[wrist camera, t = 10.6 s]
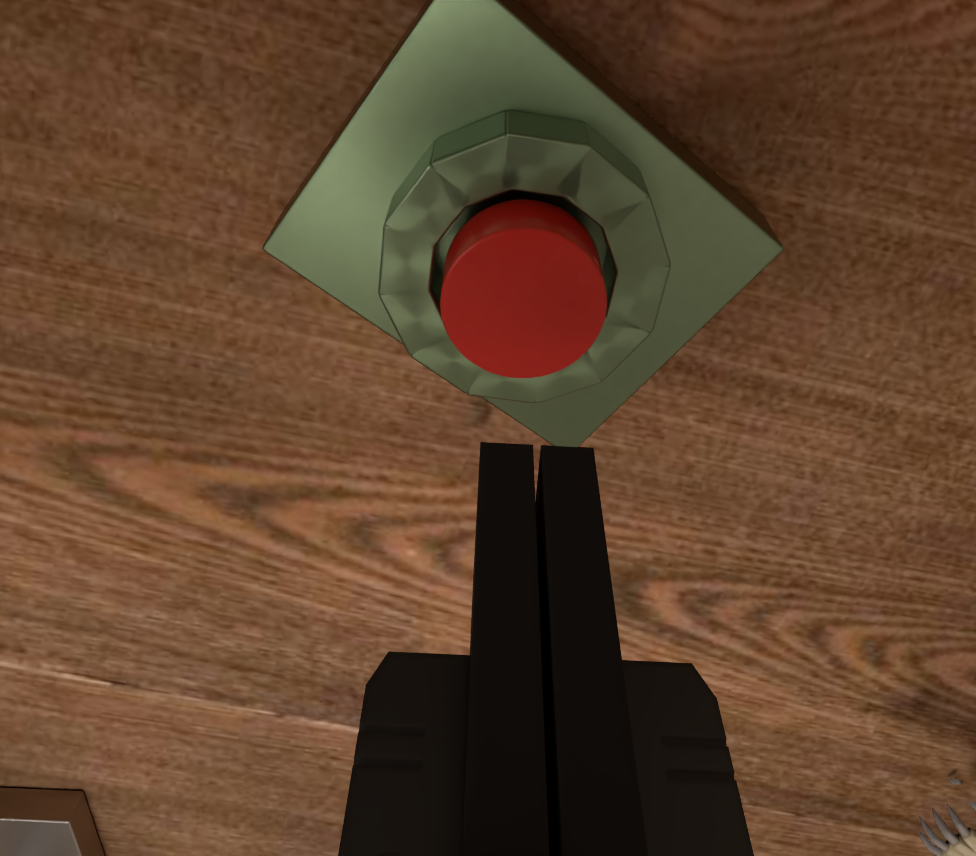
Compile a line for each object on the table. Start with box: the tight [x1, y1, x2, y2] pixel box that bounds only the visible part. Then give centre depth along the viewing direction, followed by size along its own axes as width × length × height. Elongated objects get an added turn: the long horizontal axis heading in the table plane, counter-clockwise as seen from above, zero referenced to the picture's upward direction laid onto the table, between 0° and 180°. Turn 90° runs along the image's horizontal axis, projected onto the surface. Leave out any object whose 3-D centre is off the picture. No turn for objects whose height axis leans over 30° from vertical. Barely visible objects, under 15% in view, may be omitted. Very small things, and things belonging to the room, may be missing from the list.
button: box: [440, 199, 607, 378], centre depth 20 cm, size 4×4×2 cm
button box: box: [262, 0, 784, 447], centre depth 22 cm, size 10×8×4 cm
